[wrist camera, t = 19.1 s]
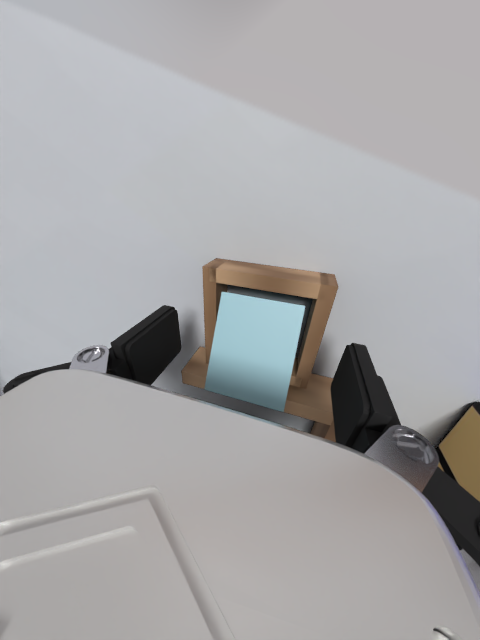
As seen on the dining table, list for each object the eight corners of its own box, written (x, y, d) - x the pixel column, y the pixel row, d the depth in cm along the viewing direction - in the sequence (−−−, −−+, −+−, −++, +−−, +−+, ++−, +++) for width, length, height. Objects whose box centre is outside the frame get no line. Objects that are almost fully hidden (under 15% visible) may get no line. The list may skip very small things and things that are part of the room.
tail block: (240, 298, 14) (226, 369, 14) (221, 291, 10) (204, 389, 11) (300, 308, 13) (284, 384, 14) (305, 305, 9) (283, 412, 10)
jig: (206, 479, 29) (196, 505, 27) (195, 255, 14) (169, 267, 11) (290, 511, 27) (288, 543, 24) (395, 283, 11) (419, 307, 9)
